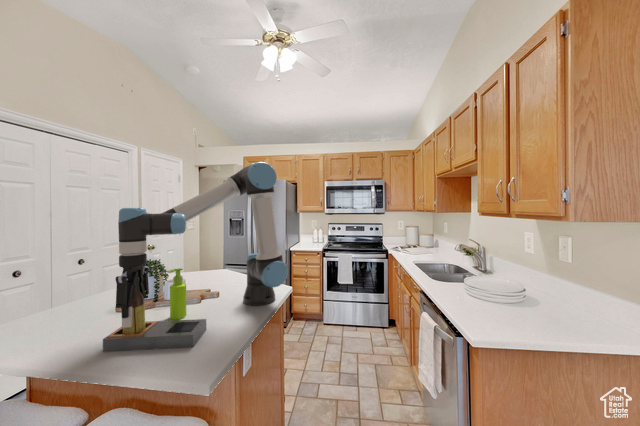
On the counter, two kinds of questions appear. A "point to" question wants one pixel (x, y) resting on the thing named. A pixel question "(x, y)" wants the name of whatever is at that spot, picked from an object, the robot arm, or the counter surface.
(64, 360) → the counter surface
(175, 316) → the soap dispenser
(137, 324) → the sauce bottle
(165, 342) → the grey tray
